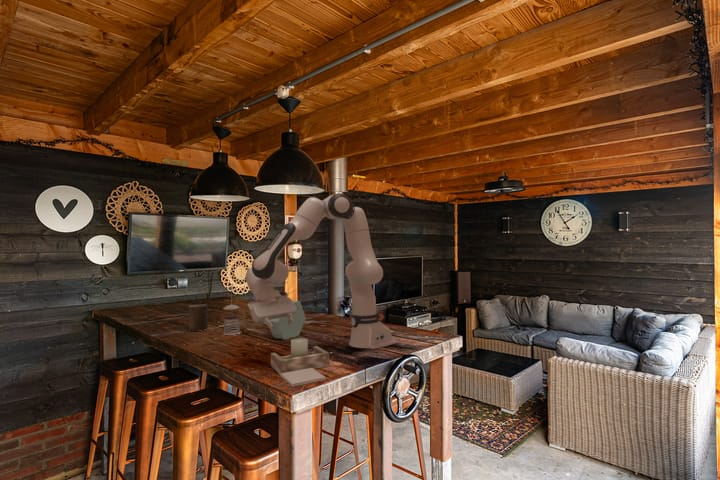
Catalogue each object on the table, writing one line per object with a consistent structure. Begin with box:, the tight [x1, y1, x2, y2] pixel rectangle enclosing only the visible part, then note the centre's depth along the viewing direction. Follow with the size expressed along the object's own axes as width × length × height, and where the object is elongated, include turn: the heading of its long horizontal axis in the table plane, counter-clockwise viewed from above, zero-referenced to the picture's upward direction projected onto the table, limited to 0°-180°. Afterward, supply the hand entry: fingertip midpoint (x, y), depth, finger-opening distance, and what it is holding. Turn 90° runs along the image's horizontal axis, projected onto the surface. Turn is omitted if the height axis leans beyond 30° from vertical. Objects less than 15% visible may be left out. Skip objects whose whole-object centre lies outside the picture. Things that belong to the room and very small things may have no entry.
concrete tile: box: [280, 368, 326, 388], centre depth 135 cm, size 12×12×1 cm
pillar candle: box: [188, 303, 208, 331], centre depth 214 cm, size 10×10×15 cm
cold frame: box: [270, 345, 330, 376], centre depth 148 cm, size 19×12×5 cm, turn 120°
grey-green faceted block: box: [269, 300, 307, 341], centre depth 197 cm, size 17×8×21 cm
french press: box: [222, 286, 246, 336], centre depth 205 cm, size 10×12×25 cm
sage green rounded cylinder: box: [290, 337, 309, 358], centre depth 148 cm, size 6×6×10 cm
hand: (282, 325), depth 155 cm, fingers open, 8 cm apart
